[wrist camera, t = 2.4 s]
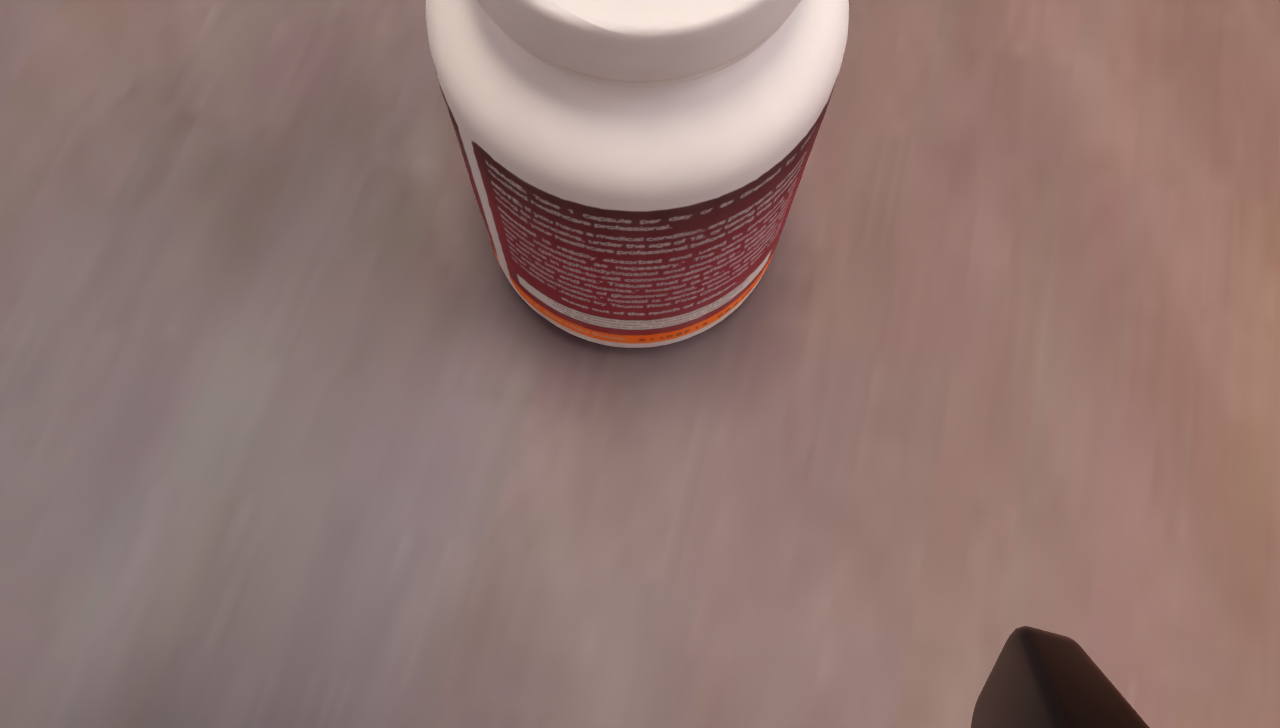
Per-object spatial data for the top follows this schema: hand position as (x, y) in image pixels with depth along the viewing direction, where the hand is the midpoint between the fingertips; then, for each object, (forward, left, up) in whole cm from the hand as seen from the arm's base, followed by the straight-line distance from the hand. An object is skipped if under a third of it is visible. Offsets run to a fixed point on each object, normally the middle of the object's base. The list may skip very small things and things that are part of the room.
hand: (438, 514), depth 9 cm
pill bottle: (+6, +5, -14) cm, 16 cm away
